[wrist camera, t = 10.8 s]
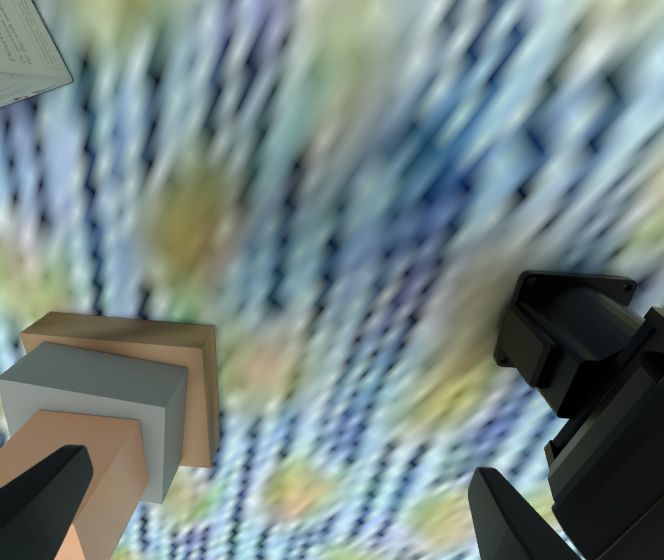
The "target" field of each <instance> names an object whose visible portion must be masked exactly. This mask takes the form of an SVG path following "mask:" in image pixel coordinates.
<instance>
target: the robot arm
mask: <svg viewBox="0 0 664 560" xmlns="http://www.w3.org/2000/svg"><path fill="white" fill-rule="evenodd" d="M530 278H533V279H532V281H531V282H528V283H527V281H528V279H530ZM625 285H627V286H626V287H625V288H624V286H625ZM636 288H637V283H636V282H635V281H634V280H632V279H630V278H627V277H617V276H602V275H587V274H573V273H558V272H544V271H526V272H524V273H523V274H522V275H521V277H520V279H519V282H518V285H517V288H516V291H515V294H514V297H513V300H512V303H511V305H510V306H509V307H508V309H507V312H506V316H505V319H504V322H503V325H502V328H501V331H500V334H499V337H498V345H497V349H496V352H495V355H494V360H495V362H496V363H497V365H499V366H501V367H513V368H517V369H518V371H519V372H520V374H521V375H522V376H523V378H524V379H525V381H526V382H527V384H528V385H529V386H530V387H531V388H535V389H538V391H539V392H540V393H541V395H542V396H543V397H544V399H545V400H546V402H547V403H548V404H549V406H550V407H551V408H552V410H553V411H554V413H555V414H556V415H557V417H559V418H566V419H569V420H568V421H567V423H566V424H565V425H564V427H563V428H562V429H561V430H560V432H559V433H558V434H557V436H556V437H555V438H554V440H550V441H549V442H548V443H547V445H546V446H545V447H544V450H545V454H546V458H547V462H548V466H549V476H548V481H549V485H550V489H551V492H552V496H553V499H554V502H555V503H554V504H553V505H552V511H553V514H554V516H555V517H556V519H557V521H558V523H559V524H560V526H561V528H562V529H563V531H564V533H565V535H566V536H567V537H568V539H569V540H570V541H571V543H572V544H573V545H574V547H575V548H576V549H577V551H578V552H579V553H580V554H581V555H582V557H583V558H584V559H585V560H664V309H661V308H657V307H653V306H652V307H651V308H650V310H649V311H648V312H647V314H646V315H645V316H644V318H645V319H644V318H643V317H641V316H639V315H638V314H636V313H635V312H633V311H632V310H630V309H629V308H627V307H628V305H629V303H630V301H631V299H632V297H633V295H634V293H635V291H636ZM503 357H505V358H504V359H503V360H501V359H502V358H503ZM93 473H94V468H93V464H92V461H91V458H90V455H89V452H88V449H87V447H86V446H84V445H77V444H67V445H64V446H62V447H60V448H59V449H57V450H56V451H54V452H53V453H51V454H50V455H48V456H47V457H45V458H44V459H42V460H41V461H39V462H38V463H36V464H35V465H33V466H32V467H31V468H29V469H28V470H26V471H25V472H23V473H22V474H20V475H19V476H17V477H16V478H14V479H13V480H11V481H10V482H8V483H7V484H5V485H4V486H2V487H1V488H0V560H54V559H55V557H56V556H57V554H58V552H59V549H60V547H61V545H62V543H63V541H64V539H65V537H66V535H67V533H68V530H69V528H70V526H71V524H72V522H73V520H74V517H75V515H76V513H77V511H78V509H79V507H80V504H81V502H82V500H83V498H84V496H85V493H86V491H87V489H88V487H89V485H90V483H91V480H92V478H93ZM468 500H469V505H470V510H471V515H472V519H473V524H474V529H475V534H476V538H477V543H478V548H479V553H480V557H481V560H582V559H581V558H580V557H579V556H578V555H577V554H576V553H575V552H574V551H573V550H572V549H571V548H570V547H569V546H568V545H567V543H566V542H565V541H564V540H563V539H562V538H561V537H560V536H559V535H558V534H557V533H556V532H555V531H554V530H553V529H552V528H551V526H550V525H549V524H548V523H547V522H546V521H545V520H544V519H543V518H542V517H541V516H540V515H539V514H538V513H537V512H536V511H535V509H534V508H533V507H532V506H531V505H530V504H529V503H528V502H527V501H526V500H525V499H524V498H523V497H522V496H521V495H520V494H519V492H518V491H517V490H516V489H515V488H514V487H513V486H512V485H511V484H510V483H509V482H508V481H507V480H506V479H505V478H504V477H503V475H502V474H501V473H500V472H499V471H498V470H496V469H495V468H492V467H477V468H476V469H475V472H474V474H473V477H472V480H471V483H470V485H469V488H468Z"/></svg>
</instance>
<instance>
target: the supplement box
mask: <svg viewBox="0 0 664 560" xmlns="http://www.w3.org/2000/svg"><path fill="white" fill-rule="evenodd" d="M70 82H72V78H71V76H70V74H69V72H68V70H67V68H66V66H65V64H64V63H63V61H62V59H61V57H60V55H59V53H58V51H57V49H56V47H55V45H54V43H53V41H52V39H51V37H50V36H49V34H48V32H47V30H46V28H45V26H44V24H43V22H42V20H41V18H40V16H39V15H38V13H37V11H36V9H35V7H34V5H33V3H32V1H31V0H0V107H3V106H6V105H9V104H11V103H14V102H17V101H20V100H23V99H26V98H29V97H32V96H34V95H37V94H40V93H43V92H46V91H48V90H51V89H53V88H56V87H60V86H62V85H65V84H68V83H70Z"/></svg>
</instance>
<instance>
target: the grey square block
mask: <svg viewBox="0 0 664 560" xmlns="http://www.w3.org/2000/svg"><path fill="white" fill-rule="evenodd" d="M187 374H188V368H184V367H179V366H173V365H168V364H162V363H157V362H151V361H146V360H141V359H135V358H130V357H124V356H119V355H113V354H108V353H103V352H97V351H92V350H86V349H81V348H75V347H70V346H64V345H59V344H54V343H48V342H42V343H41V344H39V345H38V346H37V347H36V348H34V349H33V350H32V351H31V352H29V353H28V354H27V355H26V356H24V357H23V358H22V359H20V360H19V361H18V362H17V363H15V364H14V365H13V366H12V367H10V368H9V369H8V370H7V371H5V372H4V373H3V374H2V375H0V395H1V399H2V404H3V408H4V412H5V416H6V420H7V425H8V429H9V433H10V437H12V436H13V435H14V434H15V433H16V432H17V431H18V430H19V429H20V428H21V427H22V426H23V425H24V424H25V423H26V422H27V421H28V420H29V419H30V418H31V417H32V416H33V415H34V414H35V413H36V412H37V411H38V410H44V411H53V412H63V413H73V414H83V415H92V416H102V417H112V418H121V419H131V420H139V423H140V430H141V436H142V443H143V449H144V455H145V462H146V468H147V475H148V481H149V483H148V485H147V487H146V489H145V491H144V493H143V495H142V497H141V499H140V501H145V502H152V503H159V504H162V503H163V501H164V498H165V496H166V494H167V492H168V489H169V487H170V485H171V483H172V480H173V478H174V476H175V474H176V471H177V469H178V467H179V464H180V462H181V460H182V449H183V434H184V419H185V404H186V389H187Z"/></svg>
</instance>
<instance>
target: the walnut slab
mask: <svg viewBox="0 0 664 560" xmlns="http://www.w3.org/2000/svg"><path fill="white" fill-rule="evenodd" d="M20 335H21V338H22V341H23V344H24V347H25V350H26V353H27V354H28V353H29V352H31V351H32V350H33V349H34V348H36V347H37V346H38V345H39V344H41V343H42V342H48V343H54V344H59V345H64V346H70V347H75V348H81V349H86V350H92V351H97V352H103V353H108V354H113V355H119V356H124V357H130V358H135V359H141V360H146V361H151V362H157V363H162V364H168V365H173V366H179V367H184V368H188V374H187V389H186V404H185V419H184V434H183V449H182V460H181V462H180V464H179V466H192V467H205V468H211V465H212V462H213V459H214V456H215V453H216V450H217V448H218V445H219V442H220V422H219V402H218V382H217V362H216V342H215V326H208V325H196V324H185V323H174V322H162V321H151V320H140V319H128V318H117V317H106V316H94V315H83V314H72V313H60V312H49V313H48V314H46V315H45V316H44V317H42V318H41V319H39V320H38V321H36V322H35V323H34V324H32V325H31V326H29V327H28V328H26V329H25V330H24V331H22V332H21V333H20Z"/></svg>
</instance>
